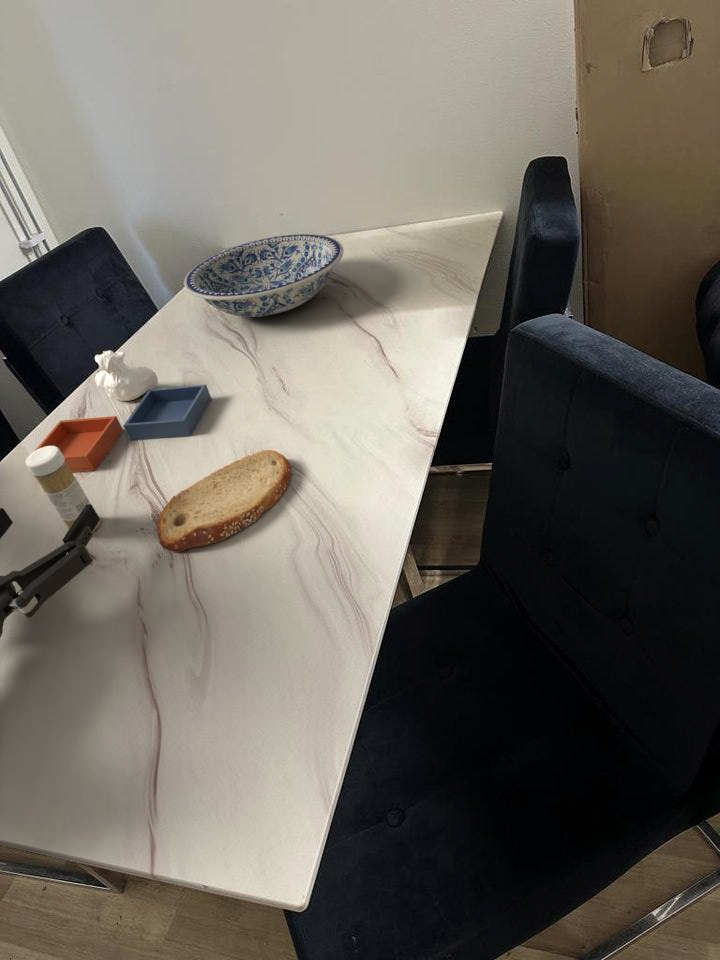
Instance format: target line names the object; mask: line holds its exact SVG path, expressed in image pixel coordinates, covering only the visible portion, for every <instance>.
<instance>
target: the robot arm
mask: <svg viewBox="0 0 720 960" xmlns="http://www.w3.org/2000/svg"><path fill="white" fill-rule="evenodd" d="M99 517H100V516H99V515H98V513H97V511H96V509H95V507H94V506H93V505H92V503H91V504H86V506H85V507H84V509H83V510H82V512H81V513H80V514H79V516H78V517H77V519H76V520H75V522H74V523H73V525H72V526H71V528H70V529H69V528H68V531H67V532H66V533H65V534H64V536H63V538H62V539H61V541H62V543H63V544H62V545H60V546H58V547H57V548H56V549H54V550H52V551H50V552H49V553H47V554H45V555H44V556H42V557H41V558H39V559H37V560H36V561H34V562H32V563H31V564H29V565H27V566H26V567H24V568H22V569H21V570H12V571H10V572H9V573H6V575H0V638H2V636H3V632H4V623H5V620H6V619H7V618H8V617H9V616H10V615H11V614H13V613H14V612H18V613H22V614H23V615H24V616H25V617H26V619H27V618H28V619H29V618H32V617H34V616H35V615H36V614H37V613H38V611H39V610H40V608H41V607H42V606H43V605H44V603H45V602H47V601H48V600H49V599H51V597H53V596H54V595H55V594H56V593H57V592H58V591H60V590H61V589H62V588H63V587H65V586H66V585H67V584H68V583H69V582H70V581H71V580H73V579H74V578H75V577H77V575H79V574H80V573H81V572H82V571H84V570H85V569H87V567H89V565H91V564H92V563H93V561H94V559H93V556H91V554H90V552H89V551H88V549H87V546H88V544H89V542H90V541H91V539H92V537H93V536H94V532H92V531H93V530H94V528H95V527H96V525H97V524H98V522H99V521H100V519H101V517H100V518H99ZM13 523H14V521H13V520H12V518H11V517H10V516H9V514H8V513H7V511H6V509H5V508H4V507H0V540H1V539H2V538H3V536H4V535H5V534H6V533H7V531H8V530H9V528H10V527H11V526H12V525H13ZM14 583H16V584H17V585H18V586H19V588H20V589H19V591H17V588H16V586H15V584H14Z"/></svg>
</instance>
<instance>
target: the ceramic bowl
mask: <svg viewBox="0 0 720 960" xmlns="http://www.w3.org/2000/svg"><path fill="white" fill-rule="evenodd" d="M344 250H345V249H344V247H343V244H342V243H341V242H340V241H339V240H337V239H335V238H333V237H330V236H326V235H322V234H312V233H311V234H310V233H309V234H308V233H307V234H306V233H297V234H287V235H285V234H284V235H279V236H272V237H266V238H261V239H257V240H253V241H249V242H245V243H242V244H239V245H236V246H233V247H231V248H230V247H229V248H228V249H225V250H222V251H221V252H218V253H216V254H214V255H212V256H210V257H208V258H206V259H205V260H203V261H202V262H200V263H198V264H197V265H196V266H194V267H193V268H192V269H190V271H189V272H188V273H187V274H186V276H185V278H184V282H183V283H184V287H185V290H186V291H187V292H188V294H190V295H192V296H194V297H196V298H200V299H203V300H204V301H205V302H207V303H208V304H209V305H211V306H212V307H213V308H215V309H217V310H218V311H221V312H224V313H225V314H229V315H233V316H236V317H243V318H245V317H246V318H256V317H267V316H273V315H277V314H281V313H283V312H287V311H291V310H292V309H295V308H297V307H300V306H301V305H304V304H305V303H307V302H309V301H310V300H311V299H312V298H313V297H315V296H316V295H317V294H318V293H319V292H320V291H321V290H322V289H323V288H324V286H325V285H326V283H327V282H328V280H329V278H330V277H331V274H332V273H333V269H334V267H335V266H337V265H338V264H339V262H340V261H341V260H342V258H343V256H344Z"/></svg>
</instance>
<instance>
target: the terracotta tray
mask: <svg viewBox="0 0 720 960" xmlns="http://www.w3.org/2000/svg"><path fill="white" fill-rule="evenodd" d="M124 430H125V429H124V427H123V426H122V424H121V423H120V420H119V418H118V417H117V415H113V416H101V417H88V418H76V419H75V418H74V419H62V420H59V421H58V423H57V424H55V426H54V427H53V429H51V431H49V433H48V434H47V435H46V436H45V438H44V439H43V440H42V441H41V442H40V443H39V445H38V446H37V447H36V448H35V450H34V451H36V450H38V449H40V448H42V447H46V446H56V447H58V448H59V450H60V451H61V453H62V454H63V456H64V458H65V462H66V464H67V465H68V467H69V469H70V470H71V472H72V473H85V472H96V471H97V469H98V468H99V466H100V465H101V463H102V462H103V460H104V459H105V457H106V456H107V455H108V453H109V452H110V451H111V449H112V448H113V446H115V443H116V442H117V441H118V440H119V438H120V436H121V435H122V433H123V432H124Z"/></svg>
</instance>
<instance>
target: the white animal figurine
mask: <svg viewBox="0 0 720 960" xmlns="http://www.w3.org/2000/svg"><path fill="white" fill-rule="evenodd" d="M125 357H126V355H125V352H124V351H120V350H118V351H116V352H114V351H113V350H103V351H102V353H101V354H96V355H95V356H94V361H95V363H97V364H98V368H100V369H101V371H99V372H97V373H96V374H95V377H94V381H95V383H96V387H98V388H100V389H101V390H102V391H104V392H105V393H106V394H108V397H109V398H112V399H116V400H118V401H120V402H130V401H133V400H137V399H138V398H139V397H141V396H143V395H144V394H146V393H147V392H148V390H149V389H156V388H157V386H158V384H159V379H158V376H157V374H156V372H155V371H154V370H153V369H151V368H150V367H148V366H145V365H139V366H136V365H135V366H131V365H128V364H126V363H125V361H124V358H125Z"/></svg>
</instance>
